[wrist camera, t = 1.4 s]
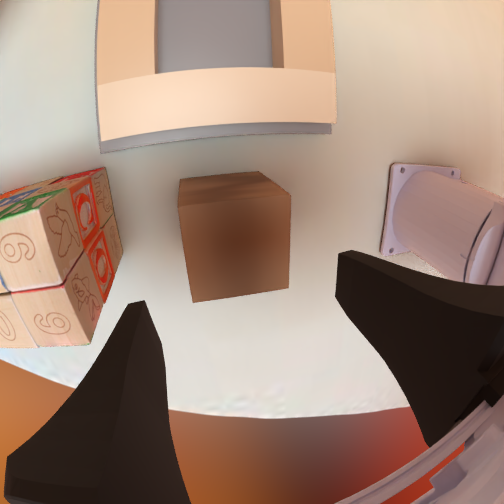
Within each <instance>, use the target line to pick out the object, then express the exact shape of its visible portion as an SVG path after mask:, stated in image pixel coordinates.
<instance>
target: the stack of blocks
mask: <svg viewBox="0 0 504 504" xmlns="http://www.w3.org/2000/svg"><path fill="white" fill-rule="evenodd" d="M122 255H123V251H122V247H121V243H120V239H119V235H118V230H117V226H116V221H115V216H114V213H113V205H112V199H111V194H110V189H109V183H108V178H107V174H106V169H105V167H104V168H99V169H95V170H91V171H87V172H82V173H78V174H74V175H71V176H67V177H63V176H61V177H58V178H54V179H50V180H46V181H43V182H40V183H36V184H33V185H30V186H26V187H23V188H19V189H16V190H13V191H10V192H7V193H4V194H2V195H0V348H39V347H40V346H41V347H55V346H73V345H74V346H78V345H89V344H91V341H92V337H93V334H94V331H95V328H96V325H97V322H98V319H99V316H100V313H101V310H102V307H103V304H105V303H106V300H107V297H108V294H109V292H110V289H111V286H112V283H113V280H114V277H115V274H116V271H117V268H118V265H119V263H120V260H121V257H122Z"/></svg>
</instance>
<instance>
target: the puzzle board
mask: <svg viewBox="0 0 504 504" xmlns="http://www.w3.org/2000/svg"><path fill="white" fill-rule="evenodd" d="M95 98H96V114H97V126H98V136H99V145H100V153H101V154H103V153H107V152H112V151H117V150H123V149H128V148H134V147H139V146H146V145H152V144H159V143H166V142H173V141H181V140H190V139H199V138H209V137H221V136H235V135H253V134H331V123H335V124H336V75H335V54H334V39H333V26H332V15H331V5H330V0H98V4H97V15H96V30H95Z"/></svg>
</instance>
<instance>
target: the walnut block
mask: <svg viewBox="0 0 504 504" xmlns="http://www.w3.org/2000/svg"><path fill="white" fill-rule="evenodd" d="M178 213H179V220H180V227H181V234H182V241H183V248H184V254H185V261H186V267H187V273H188V279H189V284H190V290H191V295H192V301H193V303H195V302H203V301H210V300H217V299H223V298H230V297H237V296H243V295H250V294H256V293H262V292H268V291H274V290H280V289H286V288H289V261H290V218H291V195H290V194H289V193H288V192H286V191H285V190H284V189H282V188H281V187H280V186H278V185H277V184H275V183H274V182H273V181H271V180H270V179H269V178H267V177H266V176H264V175H263V174H262V173H260V172H259V171H256V172H243V173H232V174H221V175H211V176H202V177H194V178H185V179H180V185H179V197H178Z"/></svg>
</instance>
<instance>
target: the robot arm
mask: <svg viewBox="0 0 504 504" xmlns="http://www.w3.org/2000/svg"><path fill="white" fill-rule="evenodd" d="M401 168H402V171H401V172H400V170H401ZM460 176H461V171H460V169H458V168H453V167H443V166H432V165H419V164H403V163H394V164H393V165H392V167H391V174H390V185H389V194H388V203H387V211H386V219H385V226H384V232H383V239H382V245H381V254H382V255H384V256H389V255H394V254H399V253H405V252H410V251H412V252H413V253H415V254H416V255H417V256H419V257H420V258H421V259H423V260H424V261H425V262H427V263H428V264H430V265H431V266H432V267H433V268H435V269H436V270H437V271H439V272H440V273H441V274H443V275H444V276H445V277H446V278H448V279H449V280H448V279H444V278H440V277H435V276H432V275H428V274H425V273H421V272H418V271H415V270H412V269H409V268H406V267H403V266H400V265H397V264H394V263H391V262H388V261H386V260H383V259H380V258H377V257H374V256H371V255H368V254H365V253H362V252H358V251H354V250H350V251H346V252H342V253H338V267H337V281H336V292H335V297H336V299H337V301H338V302H339V304H340V306H341V307H342V309H343V310H344V312H345V313H346V315H347V316H348V318H349V319H350V320H351V321H352V322H353V324H354V325H355V326H356V327H357V328H358V330H359V331H360V332H361V333H362V334H363V335H364V337H365V338H366V339H367V340H368V341H369V342H370V344H371V345H372V346H373V347H374V348H375V350H376V351H377V352H378V353H379V354H380V356H381V357H382V358H383V360H384V361H385V362H386V364H387V366H388V367H389V369H390V370H391V372H392V373H393V375H394V377H395V378H396V380H397V382H398V383H399V385H400V387H401V389H402V391H403V392H404V394H405V396H406V398H407V400H408V402H409V404H410V406H411V408H412V410H413V412H414V414H415V417H416V419H417V422H418V424H419V427H420V429H421V432H422V434H423V437H424V440H425V442H426V444H427V445H428V446H429V447H430V448H429V449H428V450H426V451H425V452H424V453H422V454H421V455H420V456H418V457H417V458H415V459H414V460H413V461H411V462H409V463H408V464H406V465H405V466H403V467H402V468H400V469H399V470H397V471H395V472H394V473H392V474H391V475H389V476H387V477H386V478H384V479H382V480H380V481H379V482H377V483H375V484H373V485H372V486H370V487H368V488H366V489H364V490H362V491H360V492H358V493H356V494H354V495H352V496H350V497H348V498H346V499H344V500H342V501H340V502H337V503H335V504H380V503H382V502H383V501H385V500H387V499H388V498H390V497H392V496H393V495H395V494H397V493H398V492H400V491H401V490H403V489H404V488H406V487H407V486H409V485H410V484H412V483H413V482H415V481H416V480H417V479H419V478H420V477H422V476H423V475H425V474H426V473H427V472H429V471H430V470H431V469H433V468H434V467H435V466H436V465H438V464H439V463H440V462H441V461H443V460H444V459H445V458H446V457H447V456H449V455H450V454H451V453H452V452H453V451H454V450H456V449H457V448H458V447H459V446H460V445H461V444H462V443H464V442H465V445H464V446H465V448H464V451H463V452H462V453H461V454H459V455H458V456H457V457H456V458H455V459H453V460H452V461H451V462H450V463H448V464H447V465H446V466H445V467H443V468H442V469H441V470H440V471H439V472H437V473H436V474H435V475H434V476H433V477H431V478H430V482H431V483H432V485H433V486H434V488H433V489H431V490H430V491H428V492H427V493H426V494H424V495H423V496H421V497H420V498H419V499H417V500H416V501H414V502H413V503H411V504H504V199H503V198H502V197H500V196H498V195H496V194H494V193H491V192H489V191H487V190H484V189H482V188H480V187H477V186H475V185H473V184H470V183H468V182H465V181H463V180H460ZM390 249H391V250H390ZM389 250H390V251H389ZM4 497H5V499H6V500H7V501H8V502H9V503H10V504H191V502H190V500H189V496H188V493H187V491H186V487H185V484H184V481H183V479H182V475H181V471H180V468H179V465H178V461H177V457H176V453H175V449H174V445H173V440H172V436H171V431H170V424H169V414H168V401H167V385H166V368H165V361H164V355H163V349H162V343H161V341H160V338H159V336H158V333H157V331H156V328H155V326H154V323H153V321H152V318H151V316H150V313H149V310H148V308H147V305H146V302H145V300H143V301H139V302H134V303H130V304H128V305H127V307H126V308H125V310H124V312H123V314H122V315H121V317H120V319H119V321H118V323H117V324H116V326H115V328H114V330H113V332H112V333H111V335H110V337H109V339H108V340H107V342H106V344H105V346H104V347H103V349H102V351H101V352H100V354H99V355H98V357H97V359H96V360H95V362H94V364H93V365H92V367H91V368H90V370H89V371H88V373H87V374H86V376H85V377H84V378H83V380H82V381H81V382H80V384H79V385H78V387H77V388H76V389H75V391H74V392H73V393H72V394H71V396H70V397H69V398H68V399H67V400H66V401H65V403H64V404H63V405H62V406H61V407H60V408H59V410H58V411H57V412H56V413H55V414H54V415H53V416H52V418H50V420H49V421H48V422H47V423H46V424H45V425H44V426H43V427H42V428H41V429H40V430H39V431H37V432H36V433H35V434H34V435H33V436H32V437H31V438H30V439H29V440H28V441H26V442H25V443H24V444H23V445H21V446H20V447H19V448H18V449H16V450H15V451H14V452H13V453H12V454H10V455H9V456H8V457H7V463H6V472H5V486H4Z"/></svg>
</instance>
